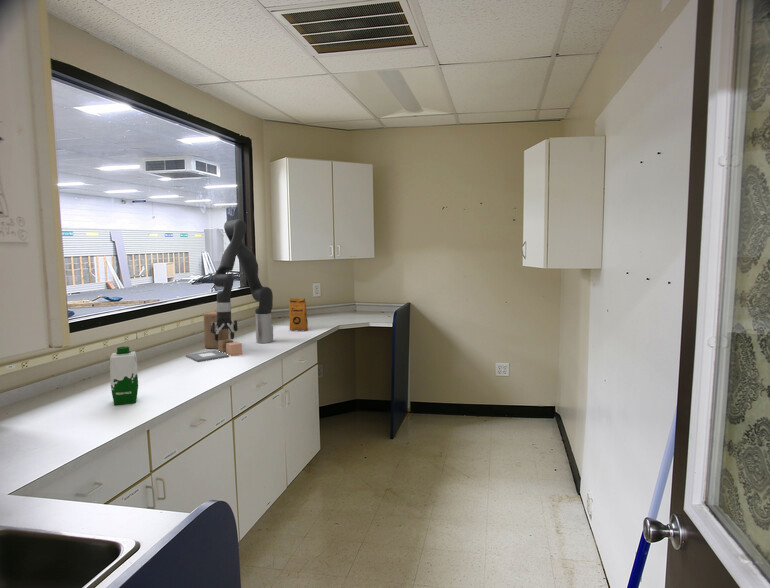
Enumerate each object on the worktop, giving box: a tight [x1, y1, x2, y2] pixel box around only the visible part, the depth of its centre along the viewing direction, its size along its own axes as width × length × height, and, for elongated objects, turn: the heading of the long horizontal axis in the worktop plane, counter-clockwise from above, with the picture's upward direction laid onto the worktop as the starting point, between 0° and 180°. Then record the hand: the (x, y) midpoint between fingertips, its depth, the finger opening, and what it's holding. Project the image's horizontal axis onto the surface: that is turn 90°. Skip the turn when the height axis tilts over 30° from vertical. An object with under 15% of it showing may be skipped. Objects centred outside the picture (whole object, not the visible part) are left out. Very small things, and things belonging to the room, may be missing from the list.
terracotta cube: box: [225, 341, 243, 357], centre depth 259 cm, size 6×6×6 cm
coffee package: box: [288, 297, 309, 332], centre depth 330 cm, size 10×12×22 cm
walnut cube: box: [217, 338, 234, 354], centre depth 266 cm, size 6×6×6 cm
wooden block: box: [203, 310, 229, 350], centre depth 276 cm, size 10×10×20 cm
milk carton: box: [109, 346, 139, 406], centre depth 180 cm, size 9×9×20 cm
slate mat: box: [185, 349, 230, 363], centre depth 253 cm, size 16×16×1 cm
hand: (224, 340), depth 266 cm, fingers open, 8 cm apart
